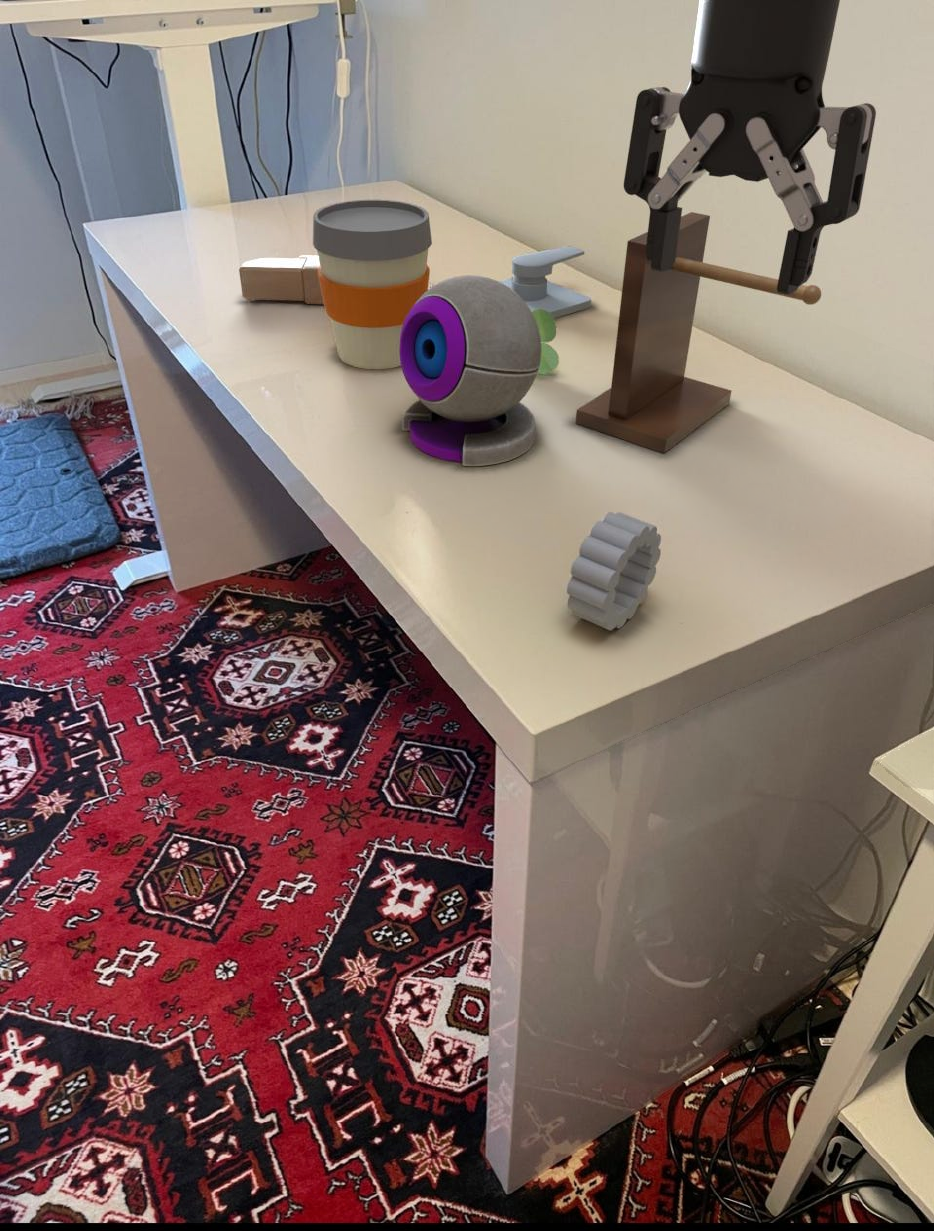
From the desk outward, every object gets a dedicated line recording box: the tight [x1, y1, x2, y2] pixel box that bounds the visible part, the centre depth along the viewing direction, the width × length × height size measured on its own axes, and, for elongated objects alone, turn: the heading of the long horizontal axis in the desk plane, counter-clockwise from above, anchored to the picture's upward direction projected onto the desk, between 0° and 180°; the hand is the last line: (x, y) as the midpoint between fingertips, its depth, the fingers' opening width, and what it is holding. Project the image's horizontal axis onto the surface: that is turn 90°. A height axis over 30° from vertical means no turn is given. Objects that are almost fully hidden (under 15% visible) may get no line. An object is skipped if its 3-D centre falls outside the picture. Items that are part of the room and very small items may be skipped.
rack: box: [575, 211, 822, 454], centre depth 89 cm, size 19×14×18 cm
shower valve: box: [497, 245, 592, 319], centre depth 121 cm, size 12×6×15 cm
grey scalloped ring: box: [566, 511, 662, 631], centre depth 68 cm, size 3×8×8 cm, turn 142°
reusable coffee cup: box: [312, 199, 433, 370], centre depth 104 cm, size 13×12×15 cm
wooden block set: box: [238, 254, 324, 305], centre depth 125 cm, size 17×6×18 cm
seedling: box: [532, 309, 560, 376], centre depth 107 cm, size 7×8×7 cm
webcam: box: [399, 274, 542, 467], centre depth 88 cm, size 13×13×15 cm
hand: (722, 279), depth 61 cm, fingers open, 8 cm apart
